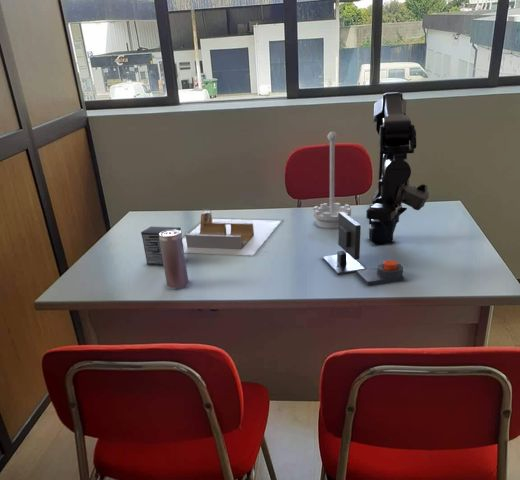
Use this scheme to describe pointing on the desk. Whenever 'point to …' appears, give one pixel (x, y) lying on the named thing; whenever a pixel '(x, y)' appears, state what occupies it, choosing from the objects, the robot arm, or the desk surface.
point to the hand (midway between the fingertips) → (389, 237)
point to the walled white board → (228, 235)
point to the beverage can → (173, 258)
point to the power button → (390, 265)
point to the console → (380, 275)
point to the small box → (154, 244)
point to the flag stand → (330, 214)
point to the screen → (349, 235)
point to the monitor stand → (343, 263)
